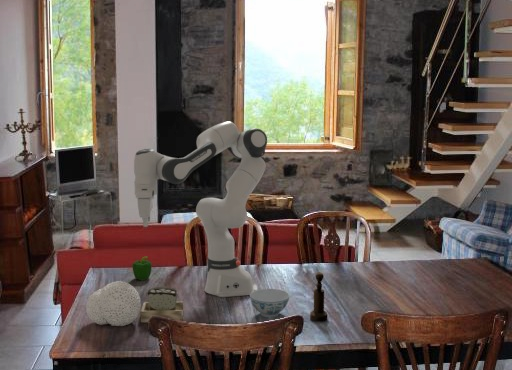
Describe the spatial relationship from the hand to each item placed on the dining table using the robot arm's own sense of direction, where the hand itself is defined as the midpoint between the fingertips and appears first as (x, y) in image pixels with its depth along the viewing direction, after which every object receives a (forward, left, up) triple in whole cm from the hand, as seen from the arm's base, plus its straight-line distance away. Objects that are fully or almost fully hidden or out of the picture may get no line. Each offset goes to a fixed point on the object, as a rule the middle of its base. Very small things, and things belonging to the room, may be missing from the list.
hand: (146, 223), depth 276 cm
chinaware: (-48, +22, -31) cm, 61 cm away
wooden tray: (-7, +23, -31) cm, 39 cm away
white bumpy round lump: (+10, +29, -31) cm, 44 cm away
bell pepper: (+5, -26, -31) cm, 41 cm away
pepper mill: (-66, +28, -31) cm, 78 cm away
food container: (-8, +23, -30) cm, 38 cm away
